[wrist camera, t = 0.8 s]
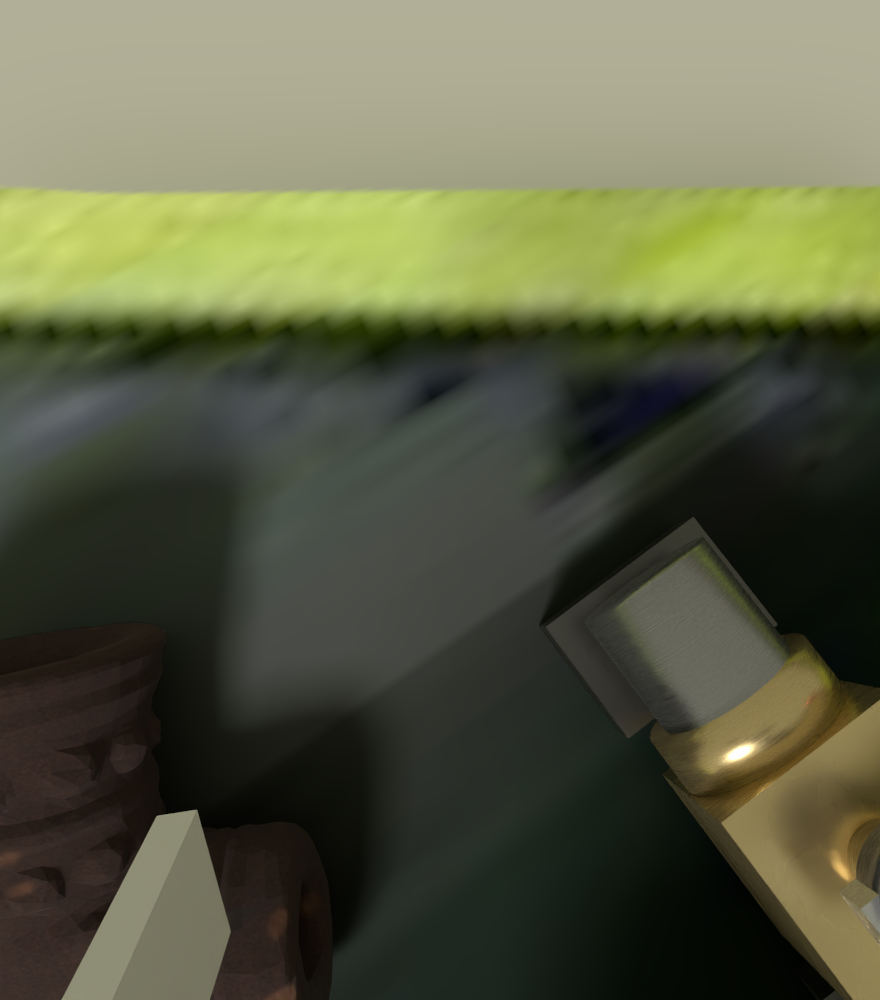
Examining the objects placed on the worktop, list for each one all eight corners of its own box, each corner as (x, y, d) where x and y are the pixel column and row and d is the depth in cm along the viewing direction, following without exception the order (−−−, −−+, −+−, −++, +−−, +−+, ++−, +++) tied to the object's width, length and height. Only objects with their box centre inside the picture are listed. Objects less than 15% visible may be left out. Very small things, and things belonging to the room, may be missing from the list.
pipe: (300, 1155, 24) (218, 652, 23) (-180, 1199, 25) (-272, 718, 24) (355, 952, 33) (298, 593, 33) (9, 990, 34) (-54, 643, 34)
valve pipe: (1023, 969, 31) (1299, 1146, 21) (879, 1085, 30) (1088, 1324, 20) (676, 523, 33) (769, 487, 23) (538, 625, 33) (574, 633, 23)
